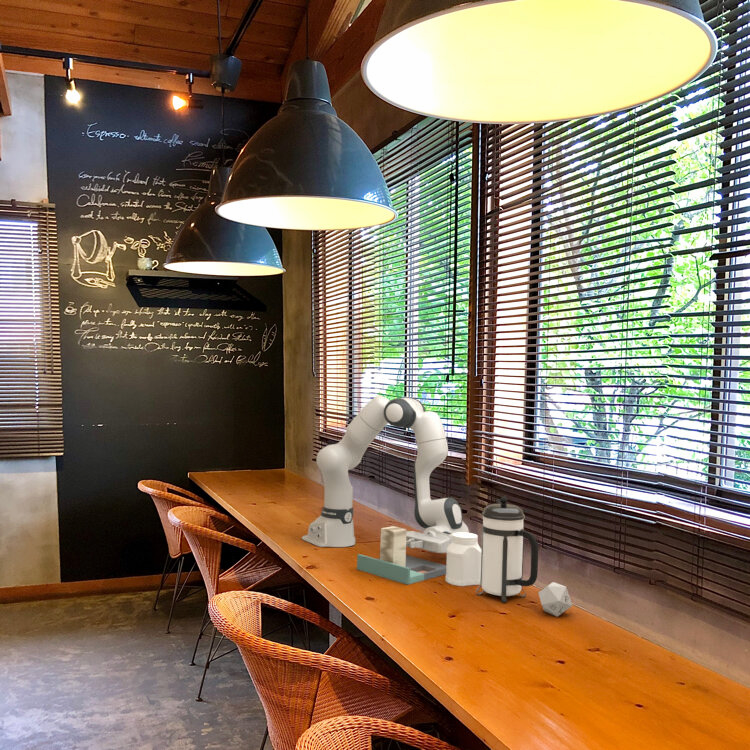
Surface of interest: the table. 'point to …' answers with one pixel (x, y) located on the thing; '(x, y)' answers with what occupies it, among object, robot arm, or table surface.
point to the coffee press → (505, 551)
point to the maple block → (393, 545)
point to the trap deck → (401, 569)
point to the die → (555, 599)
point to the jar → (463, 560)
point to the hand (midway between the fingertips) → (408, 544)
